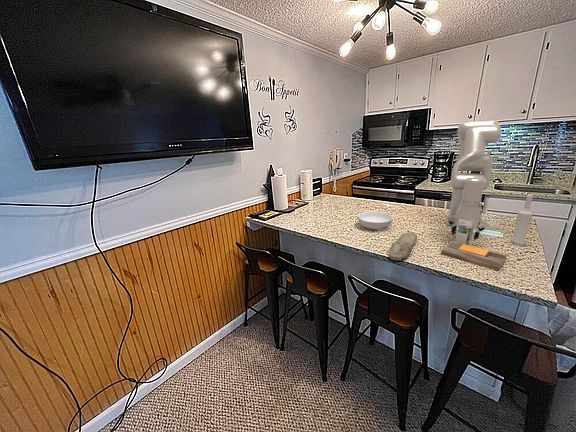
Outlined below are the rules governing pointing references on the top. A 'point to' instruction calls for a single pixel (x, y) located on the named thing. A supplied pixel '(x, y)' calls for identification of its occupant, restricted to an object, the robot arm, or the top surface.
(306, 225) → the top surface
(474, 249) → the orange rectangular panel
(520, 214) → the bottle
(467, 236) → the syrup box
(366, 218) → the serving bowl
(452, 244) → the wooden tray
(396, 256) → the elongated rock
